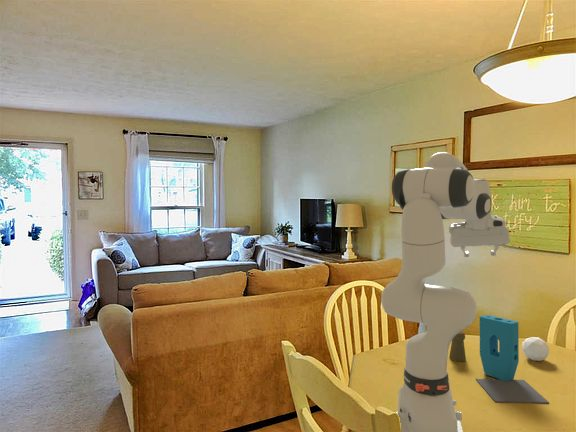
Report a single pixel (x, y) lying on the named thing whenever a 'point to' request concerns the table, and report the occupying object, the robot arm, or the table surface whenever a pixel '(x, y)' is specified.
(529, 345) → the white faceted ball
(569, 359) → the table surface
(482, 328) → the block
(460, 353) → the cork
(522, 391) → the mat
